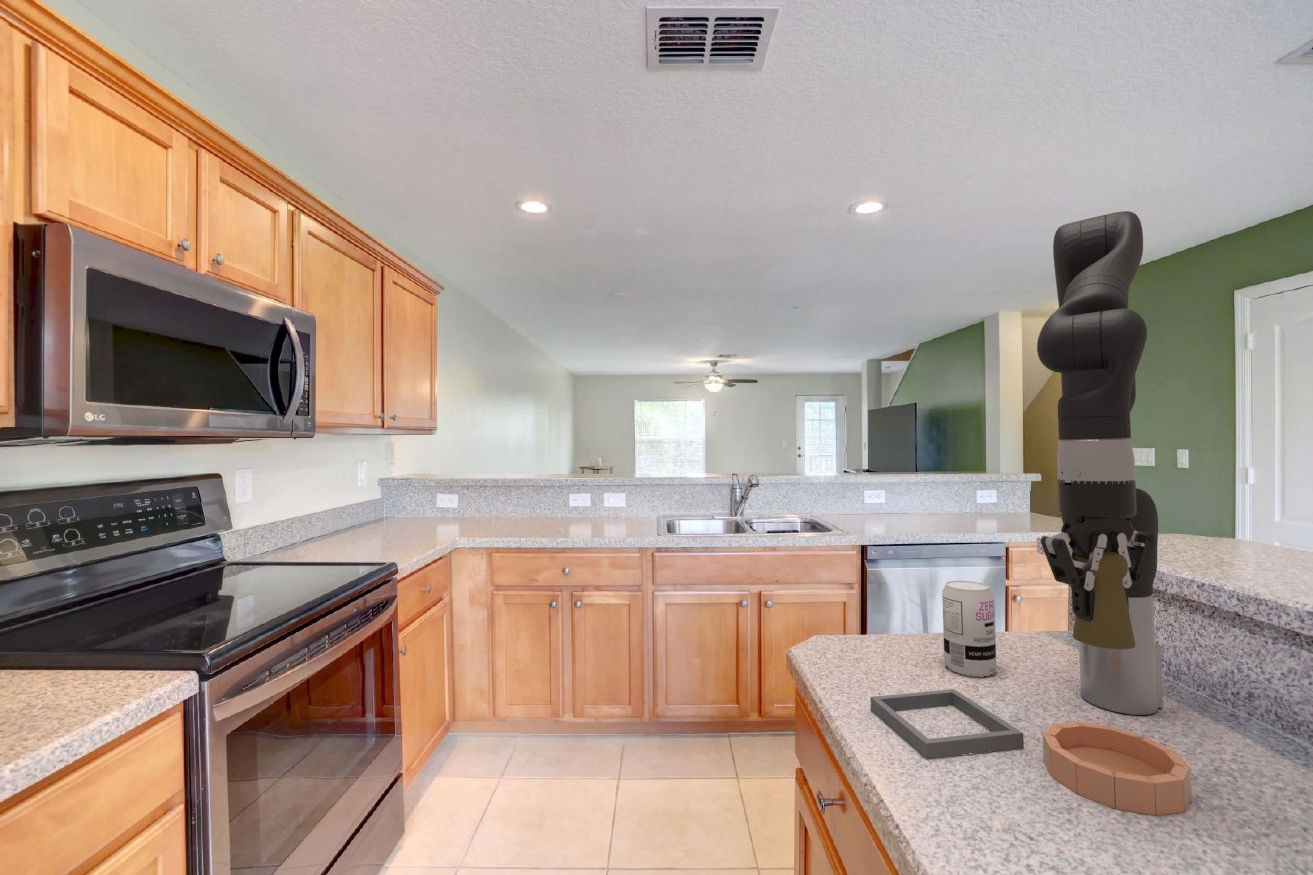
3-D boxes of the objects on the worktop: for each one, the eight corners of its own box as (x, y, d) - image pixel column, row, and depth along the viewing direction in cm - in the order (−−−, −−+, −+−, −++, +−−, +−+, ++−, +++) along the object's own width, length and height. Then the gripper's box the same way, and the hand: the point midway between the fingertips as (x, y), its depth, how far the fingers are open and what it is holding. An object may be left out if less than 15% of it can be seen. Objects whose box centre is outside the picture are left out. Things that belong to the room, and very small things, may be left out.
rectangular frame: (954, 701, 90) (953, 688, 90) (1023, 748, 76) (1023, 732, 76) (870, 709, 88) (870, 696, 88) (926, 759, 74) (926, 743, 74)
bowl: (1110, 744, 76) (1109, 717, 76) (1222, 806, 63) (1221, 774, 63) (1019, 754, 74) (1018, 727, 74) (1116, 821, 61) (1115, 787, 61)
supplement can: (948, 657, 108) (945, 577, 108) (999, 666, 103) (996, 583, 103) (940, 672, 101) (937, 587, 102) (994, 682, 97) (991, 593, 97)
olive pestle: (1147, 650, 66) (1144, 554, 66) (1088, 648, 67) (1084, 554, 67) (1117, 633, 72) (1114, 545, 72) (1063, 631, 73) (1060, 545, 73)
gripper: (1118, 473, 74) (1123, 606, 74) (1019, 477, 73) (1024, 613, 72) (1177, 476, 67) (1183, 623, 67) (1069, 480, 65) (1074, 632, 65)
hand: (1100, 617), depth 70 cm, fingers closed on olive pestle, 3 cm apart
